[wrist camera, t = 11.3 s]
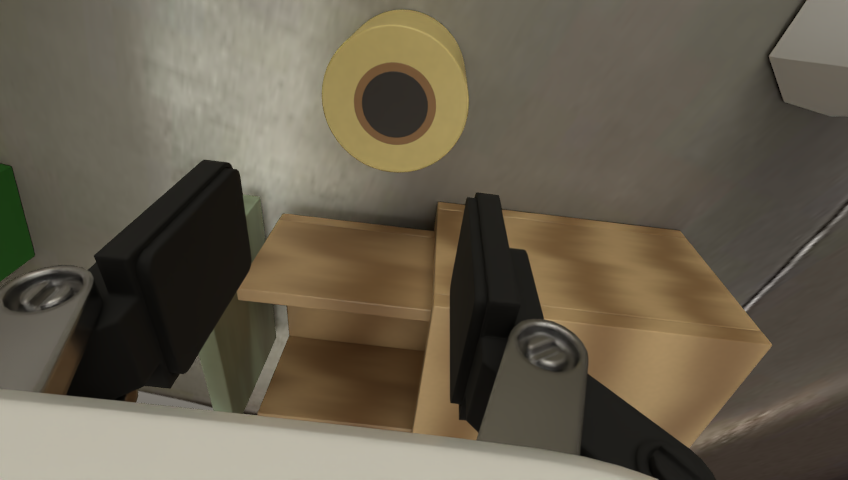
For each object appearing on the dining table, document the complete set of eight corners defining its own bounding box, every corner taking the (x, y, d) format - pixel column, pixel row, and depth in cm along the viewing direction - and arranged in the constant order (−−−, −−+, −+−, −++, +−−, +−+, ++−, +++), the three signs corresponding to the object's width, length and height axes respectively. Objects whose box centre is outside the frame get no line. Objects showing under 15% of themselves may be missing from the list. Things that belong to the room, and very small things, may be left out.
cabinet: (416, 348, 36) (406, 467, 28) (437, 201, 28) (433, 306, 20) (606, 370, 36) (652, 493, 28) (680, 230, 28) (773, 345, 20)
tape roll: (330, 110, 25) (306, 144, 21) (364, -14, 21) (343, -4, 17) (437, 152, 26) (435, 192, 22) (486, 40, 23) (494, 62, 18)
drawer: (198, 328, 34) (138, 419, 28) (161, 184, 27) (70, 260, 21) (446, 356, 35) (445, 451, 28) (474, 221, 28) (481, 307, 21)
